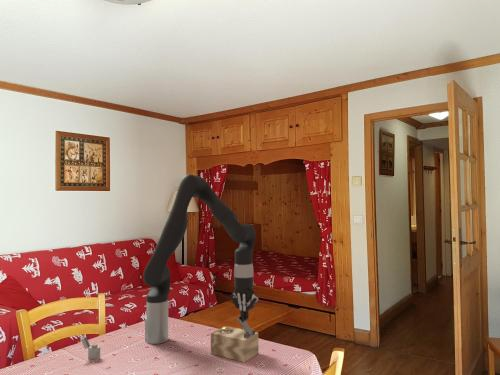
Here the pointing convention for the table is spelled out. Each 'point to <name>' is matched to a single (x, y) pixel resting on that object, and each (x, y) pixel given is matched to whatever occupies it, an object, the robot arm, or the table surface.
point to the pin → (226, 329)
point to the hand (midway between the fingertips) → (244, 319)
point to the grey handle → (245, 326)
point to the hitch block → (234, 344)
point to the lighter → (91, 349)
